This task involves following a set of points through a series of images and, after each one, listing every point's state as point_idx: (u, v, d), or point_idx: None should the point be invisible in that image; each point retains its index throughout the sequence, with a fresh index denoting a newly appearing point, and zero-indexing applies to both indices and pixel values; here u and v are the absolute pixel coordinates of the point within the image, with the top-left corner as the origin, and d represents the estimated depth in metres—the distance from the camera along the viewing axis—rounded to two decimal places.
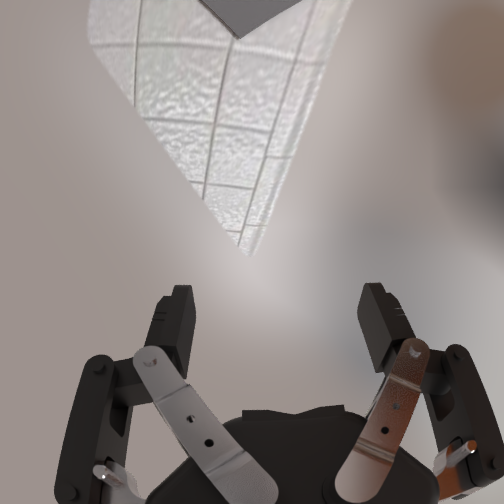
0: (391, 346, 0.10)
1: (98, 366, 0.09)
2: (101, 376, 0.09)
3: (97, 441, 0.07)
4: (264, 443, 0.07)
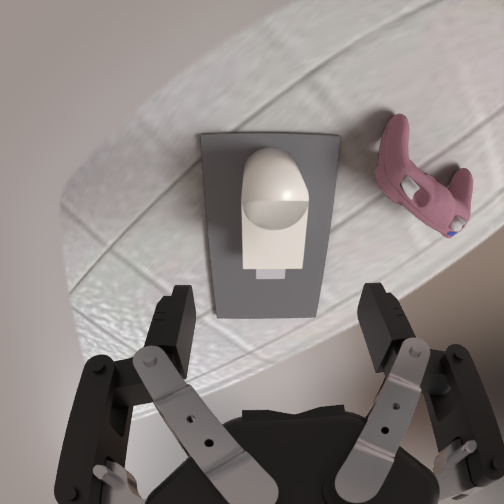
0: (391, 346, 0.10)
1: (98, 366, 0.09)
2: (101, 376, 0.09)
3: (97, 441, 0.07)
4: (264, 443, 0.07)
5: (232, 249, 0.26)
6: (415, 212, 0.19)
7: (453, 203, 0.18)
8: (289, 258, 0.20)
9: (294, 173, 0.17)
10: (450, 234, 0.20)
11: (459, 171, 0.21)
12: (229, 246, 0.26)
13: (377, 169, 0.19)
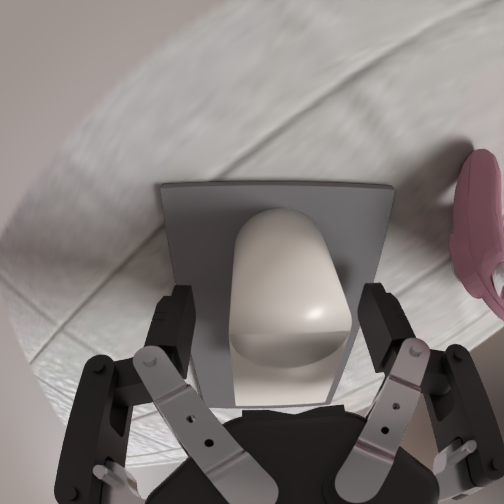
0: (391, 346, 0.10)
1: (98, 366, 0.09)
2: (101, 376, 0.09)
3: (97, 441, 0.07)
4: (264, 443, 0.07)
5: (221, 345, 0.17)
6: (498, 312, 0.10)
7: None
8: (307, 394, 0.12)
9: (331, 290, 0.09)
10: None
11: None
12: (216, 341, 0.17)
13: (454, 244, 0.11)
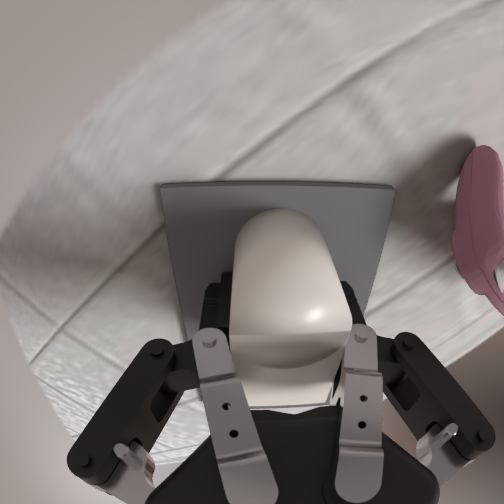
0: None
1: (157, 350, 0.10)
2: (161, 360, 0.10)
3: (129, 421, 0.07)
4: (264, 443, 0.07)
5: None
6: (501, 308, 0.10)
7: None
8: (307, 395, 0.12)
9: (331, 290, 0.09)
10: None
11: None
12: None
13: (457, 240, 0.11)
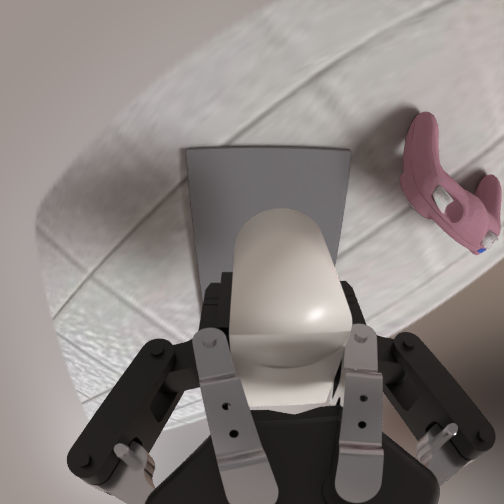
0: None
1: (157, 350, 0.10)
2: (161, 360, 0.10)
3: (129, 421, 0.08)
4: (264, 443, 0.07)
5: None
6: (446, 228, 0.15)
7: (487, 217, 0.14)
8: (307, 395, 0.12)
9: (331, 290, 0.09)
10: (480, 251, 0.16)
11: (486, 178, 0.18)
12: None
13: (403, 177, 0.16)
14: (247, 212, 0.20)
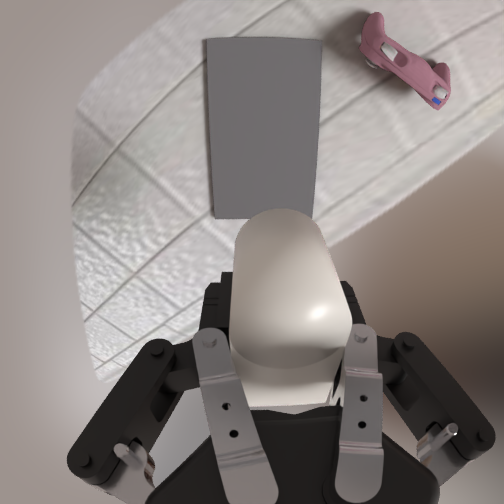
0: None
1: (157, 350, 0.10)
2: (161, 360, 0.10)
3: (129, 421, 0.07)
4: (264, 443, 0.07)
5: (231, 139, 0.27)
6: (397, 72, 0.19)
7: (430, 69, 0.18)
8: (307, 395, 0.12)
9: (331, 290, 0.09)
10: (435, 101, 0.20)
11: (436, 65, 0.22)
12: (228, 136, 0.27)
13: (360, 45, 0.20)
14: (249, 82, 0.24)
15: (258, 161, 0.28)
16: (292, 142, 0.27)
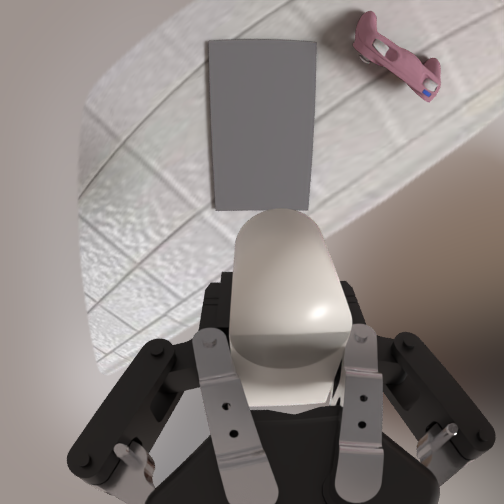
0: None
1: (157, 350, 0.10)
2: (161, 360, 0.10)
3: (129, 421, 0.07)
4: (264, 443, 0.07)
5: (231, 135, 0.28)
6: (389, 67, 0.20)
7: (420, 63, 0.20)
8: (307, 395, 0.12)
9: (331, 290, 0.09)
10: (425, 93, 0.21)
11: (428, 60, 0.23)
12: (228, 132, 0.28)
13: (354, 42, 0.21)
14: (248, 81, 0.25)
15: (257, 155, 0.30)
16: (289, 137, 0.29)
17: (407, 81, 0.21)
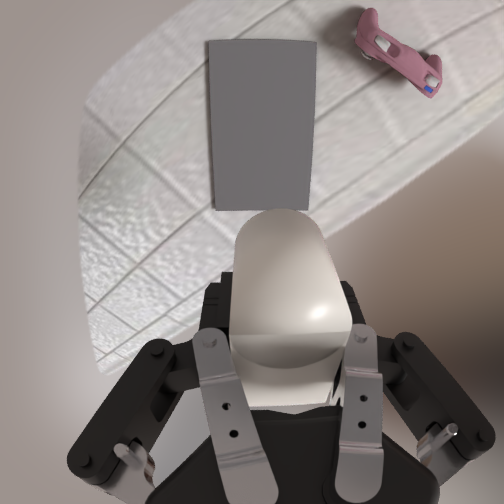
0: None
1: (157, 350, 0.10)
2: (161, 360, 0.10)
3: (129, 421, 0.07)
4: (264, 443, 0.07)
5: (231, 135, 0.28)
6: (391, 62, 0.20)
7: (422, 59, 0.19)
8: (307, 395, 0.12)
9: (331, 290, 0.09)
10: (427, 89, 0.21)
11: (429, 56, 0.23)
12: (228, 132, 0.28)
13: (356, 38, 0.21)
14: (248, 81, 0.25)
15: (257, 155, 0.30)
16: (289, 137, 0.29)
17: (409, 77, 0.20)
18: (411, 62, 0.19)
